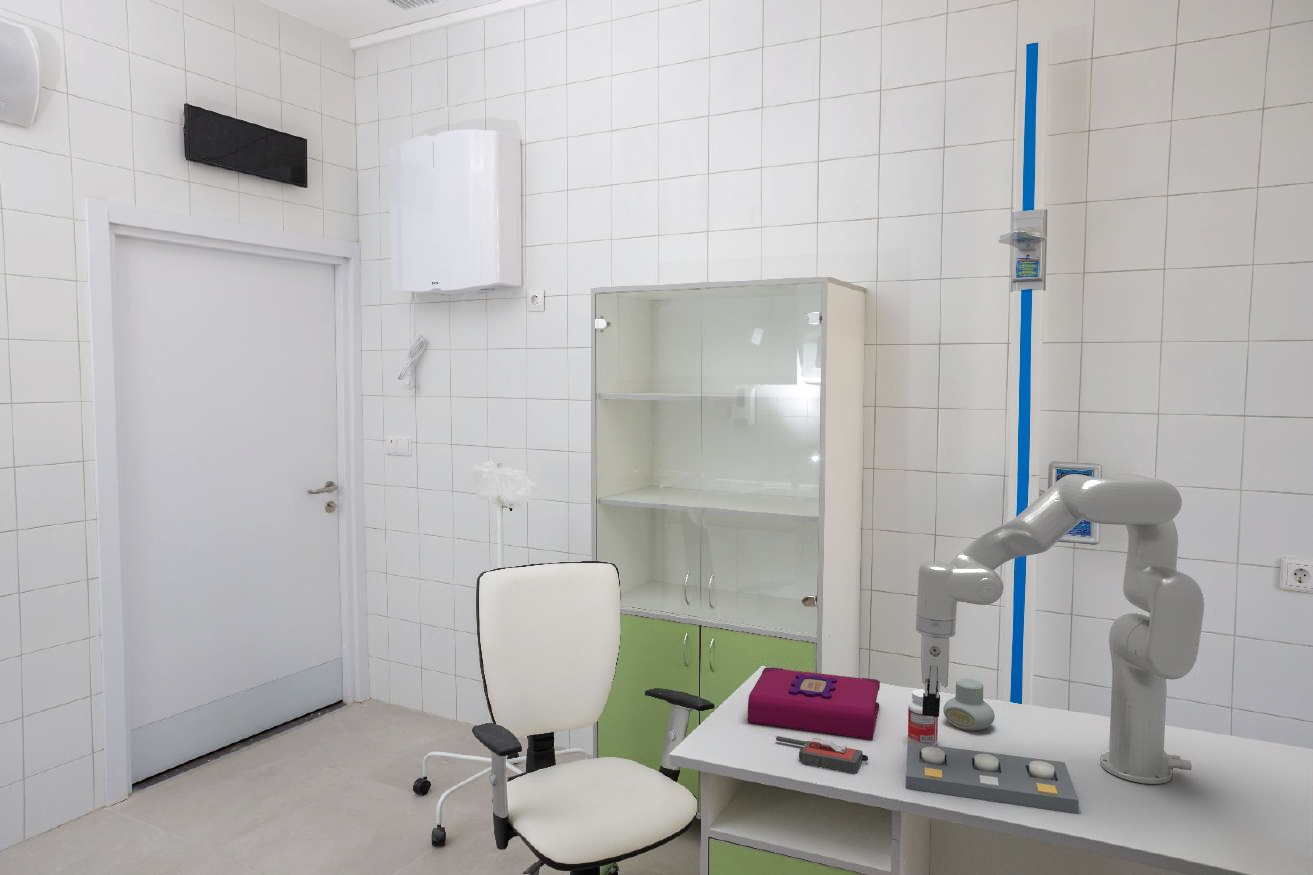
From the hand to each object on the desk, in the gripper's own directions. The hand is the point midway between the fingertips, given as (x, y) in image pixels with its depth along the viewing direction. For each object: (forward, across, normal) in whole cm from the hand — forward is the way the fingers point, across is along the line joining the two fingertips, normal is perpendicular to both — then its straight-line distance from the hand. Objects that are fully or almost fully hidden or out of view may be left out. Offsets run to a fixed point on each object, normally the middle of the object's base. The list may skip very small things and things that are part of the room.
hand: (930, 714), depth 167 cm
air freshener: (+11, +26, -9) cm, 30 cm away
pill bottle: (+12, +13, +1) cm, 18 cm away
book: (+13, +22, +25) cm, 35 cm away
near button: (+9, 0, -21) cm, 23 cm away
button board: (+11, -1, -11) cm, 16 cm away
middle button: (+9, 0, -11) cm, 14 cm away
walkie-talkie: (+13, -1, +22) cm, 25 cm away
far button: (+9, 0, -1) cm, 9 cm away
